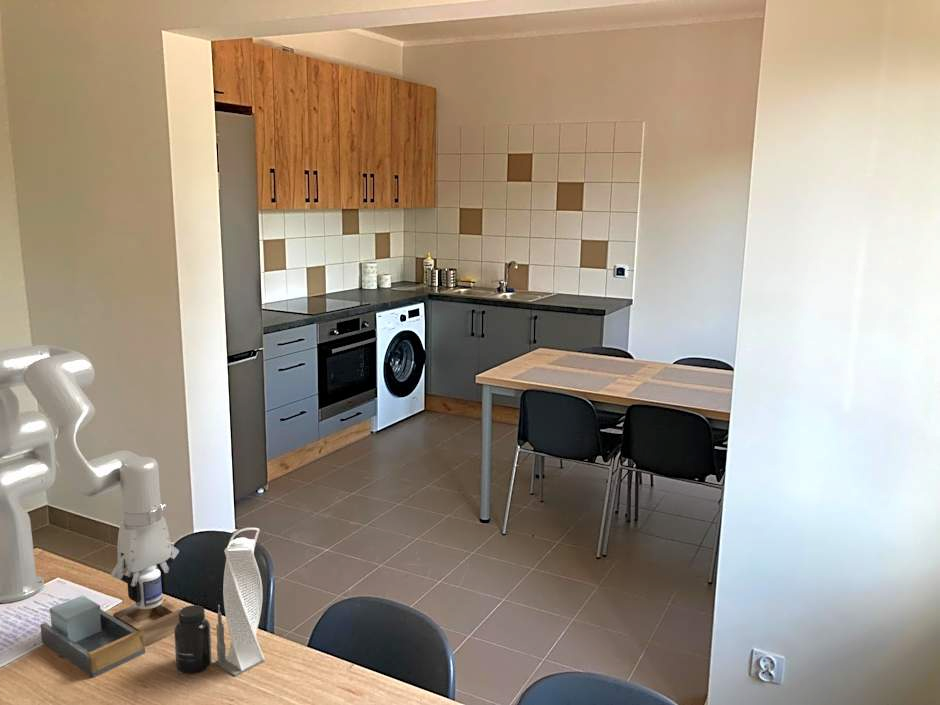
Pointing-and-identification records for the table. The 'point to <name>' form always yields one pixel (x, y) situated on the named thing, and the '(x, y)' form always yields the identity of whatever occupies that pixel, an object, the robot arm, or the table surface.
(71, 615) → the pale teal block
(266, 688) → the table surface
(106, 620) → the bay
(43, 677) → the table surface
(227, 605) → the skyscraper
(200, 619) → the supplement bottle
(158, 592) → the pill bottle
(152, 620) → the open wooden box
